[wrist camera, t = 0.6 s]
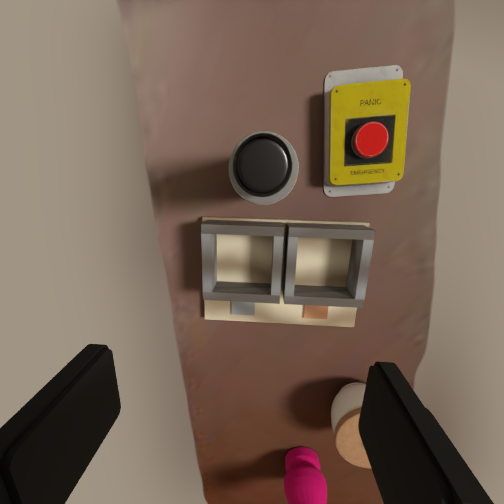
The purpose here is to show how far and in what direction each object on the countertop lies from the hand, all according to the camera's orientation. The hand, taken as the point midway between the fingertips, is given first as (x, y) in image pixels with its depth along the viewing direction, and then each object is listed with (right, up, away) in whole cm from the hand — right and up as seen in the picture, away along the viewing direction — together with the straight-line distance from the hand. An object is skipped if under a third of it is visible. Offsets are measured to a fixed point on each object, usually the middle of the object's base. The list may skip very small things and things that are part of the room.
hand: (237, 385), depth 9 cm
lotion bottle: (+2, +15, +26) cm, 30 cm away
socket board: (+5, +2, +29) cm, 30 cm away
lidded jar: (+18, -20, +35) cm, 44 cm away
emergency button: (+15, +20, +24) cm, 35 cm away
